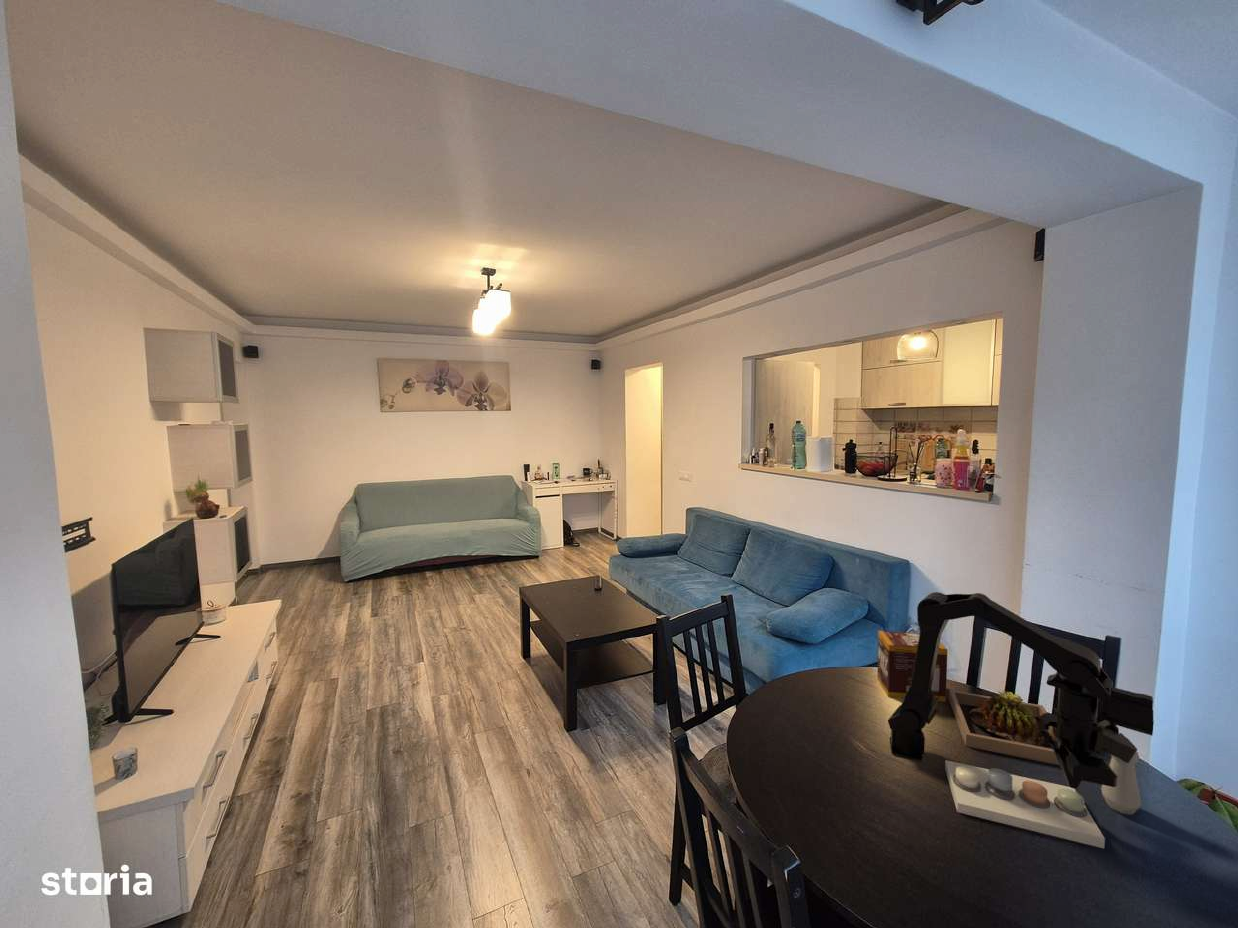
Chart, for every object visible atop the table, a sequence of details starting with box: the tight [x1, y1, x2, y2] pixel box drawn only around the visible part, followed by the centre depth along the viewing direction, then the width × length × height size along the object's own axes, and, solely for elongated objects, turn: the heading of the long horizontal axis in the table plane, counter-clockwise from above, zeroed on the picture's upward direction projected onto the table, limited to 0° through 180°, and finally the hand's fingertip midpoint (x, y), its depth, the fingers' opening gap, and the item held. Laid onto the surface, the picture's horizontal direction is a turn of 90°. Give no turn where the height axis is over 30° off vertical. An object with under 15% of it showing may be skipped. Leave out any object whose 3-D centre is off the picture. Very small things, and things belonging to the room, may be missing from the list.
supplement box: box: [876, 630, 948, 702], centre depth 149 cm, size 10×15×16 cm
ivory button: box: [955, 766, 979, 788], centre depth 108 cm, size 4×4×2 cm
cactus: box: [968, 690, 1053, 748], centre depth 130 cm, size 17×16×10 cm
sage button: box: [1057, 789, 1086, 813], centre depth 101 cm, size 4×4×2 cm
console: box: [944, 759, 1106, 849], centre depth 105 cm, size 23×14×2 cm, turn 66°
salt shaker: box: [1100, 750, 1142, 816], centre depth 103 cm, size 6×6×13 cm
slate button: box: [988, 767, 1013, 791], centre depth 106 cm, size 4×4×2 cm
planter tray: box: [948, 689, 1060, 766], centre depth 129 cm, size 21×22×3 cm
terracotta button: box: [1022, 781, 1048, 804], centre depth 104 cm, size 4×4×2 cm
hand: (1072, 786), depth 101 cm, fingers closed
